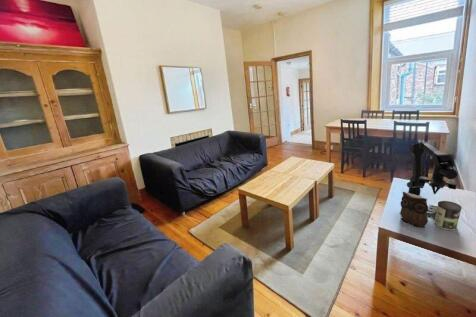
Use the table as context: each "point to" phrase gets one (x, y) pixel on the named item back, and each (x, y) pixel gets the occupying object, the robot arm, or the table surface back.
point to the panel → (430, 212)
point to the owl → (414, 210)
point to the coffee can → (447, 215)
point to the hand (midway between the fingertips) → (434, 193)
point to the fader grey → (434, 207)
